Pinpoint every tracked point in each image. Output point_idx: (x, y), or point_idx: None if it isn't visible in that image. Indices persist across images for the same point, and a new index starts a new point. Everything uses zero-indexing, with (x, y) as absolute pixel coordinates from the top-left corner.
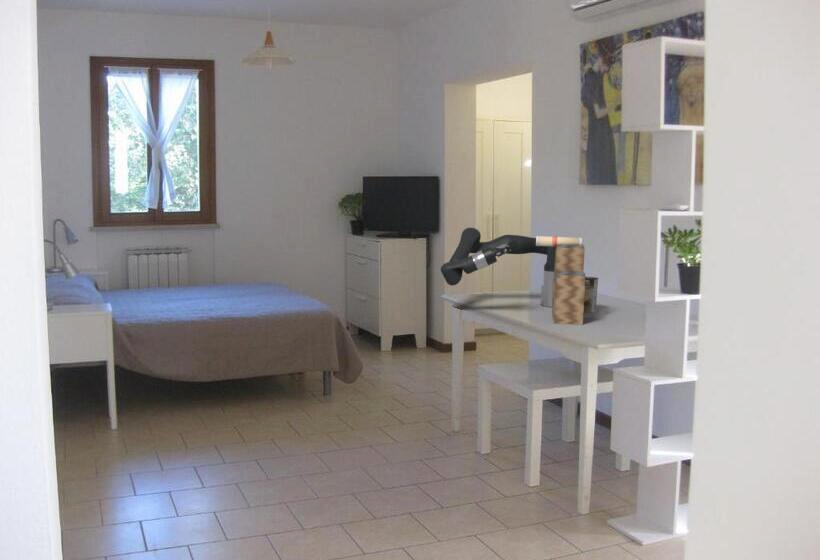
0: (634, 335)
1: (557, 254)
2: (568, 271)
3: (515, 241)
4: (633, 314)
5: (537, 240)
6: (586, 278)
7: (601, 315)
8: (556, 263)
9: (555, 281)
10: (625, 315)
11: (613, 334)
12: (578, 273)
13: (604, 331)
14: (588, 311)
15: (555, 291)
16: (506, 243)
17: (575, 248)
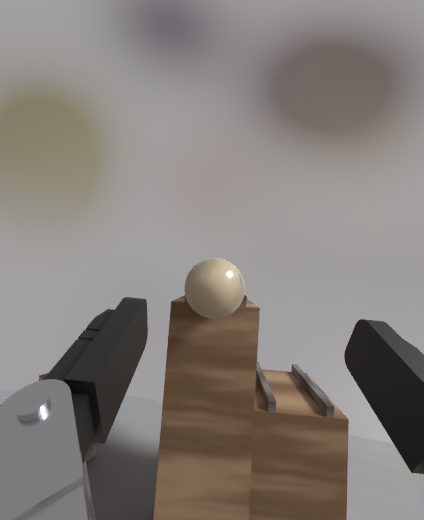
0: (359, 441)
1: (257, 334)
2: (266, 381)
3: (143, 316)
4: (135, 401)
5: (243, 285)
6: None
7: (142, 445)
8: (255, 371)
9: (271, 449)
10: (145, 412)
11: (385, 471)
12: (303, 373)
13: (363, 481)
14: (88, 459)
15: (301, 492)
16: (39, 410)
17: (250, 301)
